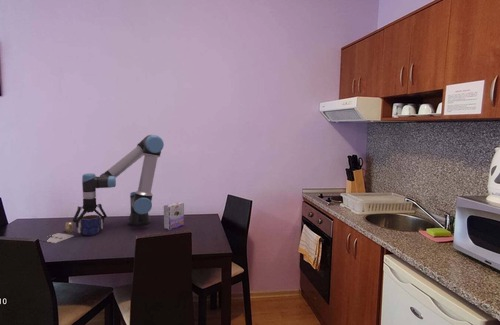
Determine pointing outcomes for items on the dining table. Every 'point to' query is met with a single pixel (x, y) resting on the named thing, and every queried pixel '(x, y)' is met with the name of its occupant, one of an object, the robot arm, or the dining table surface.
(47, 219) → the dining table surface
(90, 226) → the planter
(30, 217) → the dining table surface
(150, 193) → the robot arm
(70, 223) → the brass tin
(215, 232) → the dining table surface
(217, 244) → the dining table surface
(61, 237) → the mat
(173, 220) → the candy box
